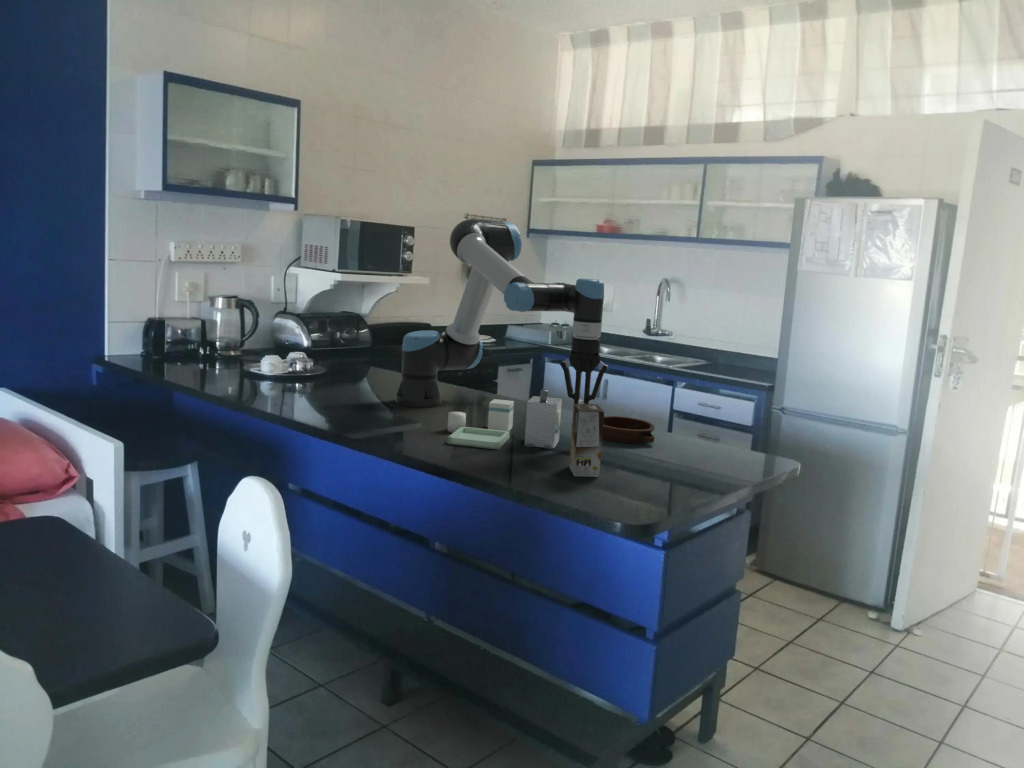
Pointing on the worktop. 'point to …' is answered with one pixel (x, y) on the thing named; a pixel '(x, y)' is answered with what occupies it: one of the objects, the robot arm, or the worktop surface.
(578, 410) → the coffee box
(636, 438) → the dish
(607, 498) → the worktop surface
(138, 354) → the worktop surface
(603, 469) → the worktop surface
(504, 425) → the block
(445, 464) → the worktop surface
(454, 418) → the cream knob
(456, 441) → the tray
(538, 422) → the box
